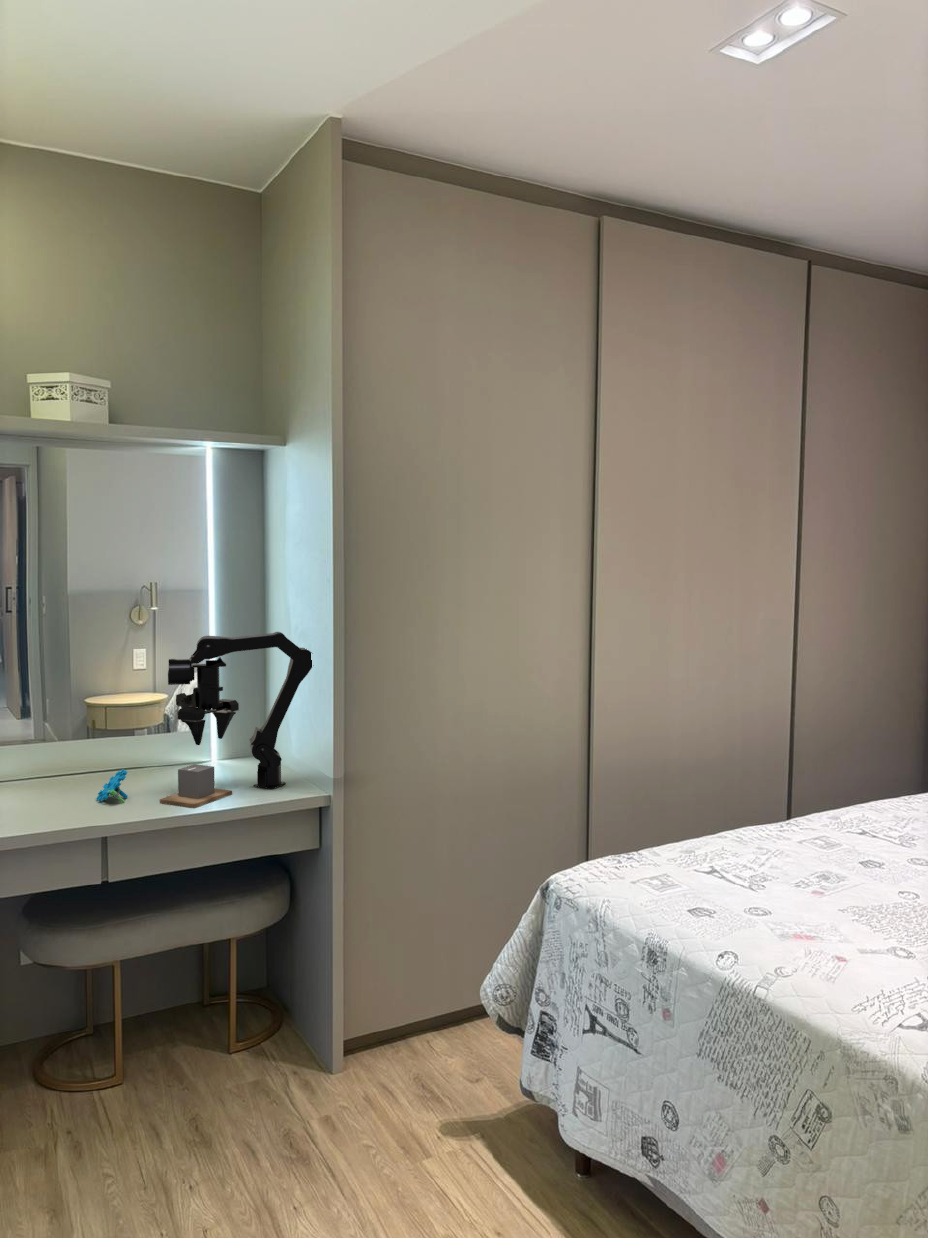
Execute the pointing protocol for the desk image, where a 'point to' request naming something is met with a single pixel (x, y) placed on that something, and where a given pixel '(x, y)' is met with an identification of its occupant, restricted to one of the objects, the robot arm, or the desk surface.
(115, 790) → the blue lumpy piece
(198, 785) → the grey cube with hole
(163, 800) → the board
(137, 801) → the desk surface
